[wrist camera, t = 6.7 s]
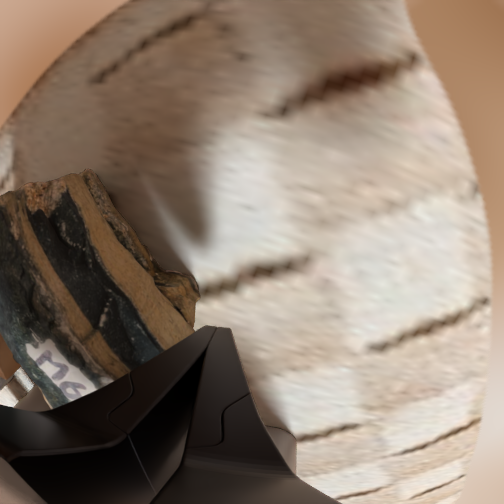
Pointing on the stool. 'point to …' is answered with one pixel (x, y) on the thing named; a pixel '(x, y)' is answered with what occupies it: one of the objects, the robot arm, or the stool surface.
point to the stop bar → (7, 361)
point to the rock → (83, 289)
